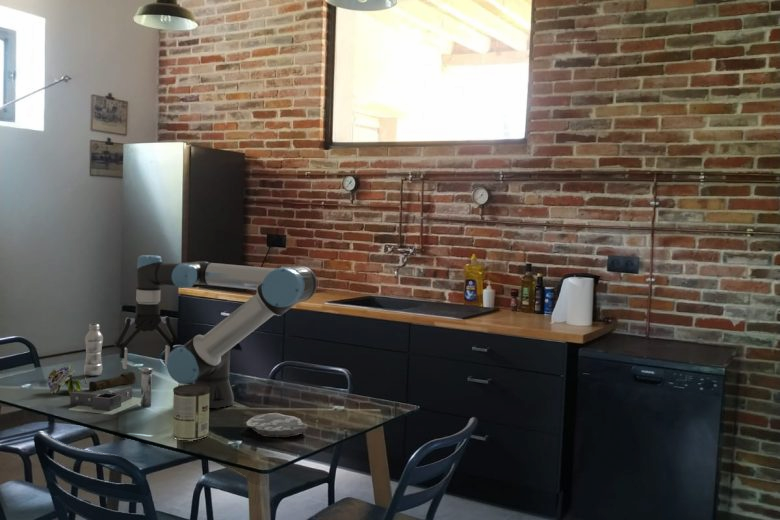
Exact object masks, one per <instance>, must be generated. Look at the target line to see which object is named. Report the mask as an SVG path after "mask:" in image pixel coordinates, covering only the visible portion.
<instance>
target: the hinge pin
mask: <svg viewBox="0 0 780 520" xmlns="http://www.w3.org/2000/svg"><path fill="white" fill-rule="evenodd" d="M153 372H154V368H153V367H145V366H144V367H141V368H140V373H141V381H140V386H141V388H140V398H141V403H140V407H141V408H145V409H146V408H151V407H152V384H153V383H152V382H153V381H152V380H153Z"/></svg>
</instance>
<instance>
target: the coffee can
mask: <svg viewBox="0 0 780 520" xmlns="http://www.w3.org/2000/svg"><path fill="white" fill-rule="evenodd" d="M172 392H173V399H172V400H173V405H172V406H173V409H172V410H173V411H172V412H173V413H172V438H173V437H174V438H176V439H178V440H177V441H179V440H188V441H187V442H194V441H193V440H197V439H201V438H203V437H206V436H207V435H208V434H209V433H210V430H209V428H210V427H209V426H210V424H209V423H210V409H209V394H210V387H208V386H206V385H199V384H193V383H188V384H181V385H179V386H175V387H173V391H172ZM174 438H173V439H174ZM176 439H175V440H176Z"/></svg>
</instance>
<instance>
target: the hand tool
mask: <svg viewBox="0 0 780 520" xmlns="http://www.w3.org/2000/svg"><path fill="white" fill-rule="evenodd" d="M136 380H137V379H136V375H135V373H134V372H133V371H128V372H123V373H121V374H120V376H114V377H110V378H106V379H101V380H100V379H99V380H96V381H90V382H89V383H88V384H89V385H88V389H89V391H95V392H97V391H101V390H105V389H110V388H114V387H119V386H122V385H126V386H130V385H132V384H134V383H136ZM129 384H130V385H129Z"/></svg>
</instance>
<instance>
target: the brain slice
mask: <svg viewBox="0 0 780 520" xmlns="http://www.w3.org/2000/svg"><path fill="white" fill-rule="evenodd" d="M245 424H246V426H247V427H249V428H251V430H252V431H253V430H254V431H256V432H257V433H258V434H257V433H256V434H257V435H259V434H268V435H290V434H298V433H302V432H305V433H306V432H307V430H308V427H309V425H308V424H306V423H305V422H303V421H302V420H301V418H299V417H296V416H293V415H286V414H282V413H279V412H272V413H270V412H269V413H264V414H263V413H262V414H258V415H257V414H256V415H253V417H250V419H248V420H246V422H245ZM254 431H253V432H254Z"/></svg>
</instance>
